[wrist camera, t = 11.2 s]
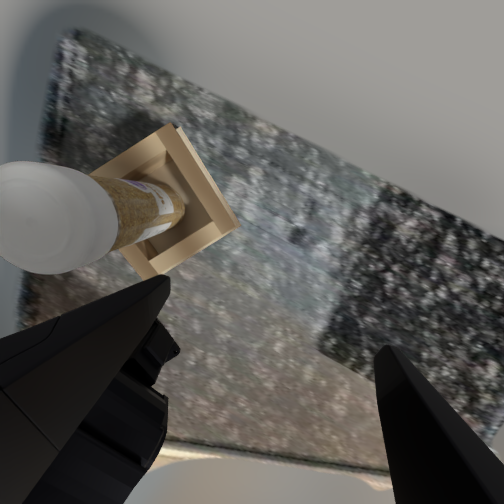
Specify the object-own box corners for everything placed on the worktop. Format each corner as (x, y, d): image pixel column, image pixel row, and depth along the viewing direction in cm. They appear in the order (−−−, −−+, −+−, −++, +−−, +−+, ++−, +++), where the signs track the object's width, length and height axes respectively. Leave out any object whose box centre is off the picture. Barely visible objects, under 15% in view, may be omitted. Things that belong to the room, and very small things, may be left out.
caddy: (158, 276, 24) (144, 289, 20) (90, 189, 21) (59, 184, 17) (240, 224, 23) (243, 228, 20) (182, 130, 21) (171, 112, 17)
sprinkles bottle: (186, 187, 21) (86, 166, 8) (185, 232, 22) (95, 282, 9) (139, 181, 20) (-49, 150, 7) (140, 228, 21) (-22, 273, 8)
